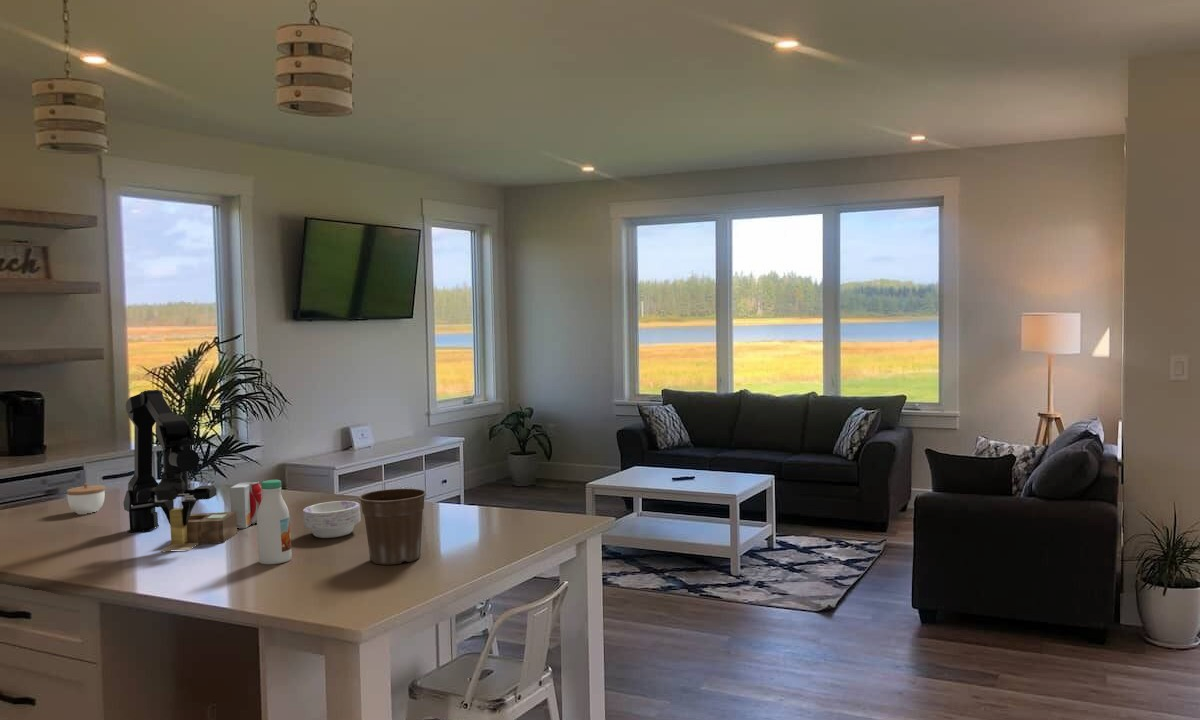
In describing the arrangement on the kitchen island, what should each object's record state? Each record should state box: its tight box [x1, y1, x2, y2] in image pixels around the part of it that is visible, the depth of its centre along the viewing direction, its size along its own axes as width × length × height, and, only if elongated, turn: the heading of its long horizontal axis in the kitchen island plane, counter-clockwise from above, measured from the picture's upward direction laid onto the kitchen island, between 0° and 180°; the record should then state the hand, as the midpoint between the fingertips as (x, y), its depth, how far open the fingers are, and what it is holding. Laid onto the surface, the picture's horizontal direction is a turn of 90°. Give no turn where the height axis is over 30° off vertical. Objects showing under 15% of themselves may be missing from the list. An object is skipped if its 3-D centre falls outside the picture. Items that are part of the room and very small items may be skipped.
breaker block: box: [185, 511, 238, 544], centre depth 255 cm, size 14×11×6 cm
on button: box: [207, 514, 227, 519], centre depth 255 cm, size 4×4×3 cm
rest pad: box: [160, 543, 199, 552], centre depth 246 cm, size 7×7×1 cm
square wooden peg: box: [169, 507, 187, 545], centre depth 245 cm, size 3×3×9 cm
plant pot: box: [358, 488, 427, 566], centre depth 228 cm, size 16×16×16 cm
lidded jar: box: [66, 482, 106, 515], centre depth 296 cm, size 11×11×9 cm
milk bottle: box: [256, 479, 293, 565], centre depth 229 cm, size 8×8×20 cm
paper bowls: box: [302, 500, 362, 539], centre depth 256 cm, size 15×15×8 cm
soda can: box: [237, 480, 263, 525], centre depth 273 cm, size 7×7×12 cm
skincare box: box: [229, 483, 251, 529], centre depth 269 cm, size 6×4×12 cm
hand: (178, 525), depth 245 cm, fingers closed on square wooden peg, 3 cm apart
